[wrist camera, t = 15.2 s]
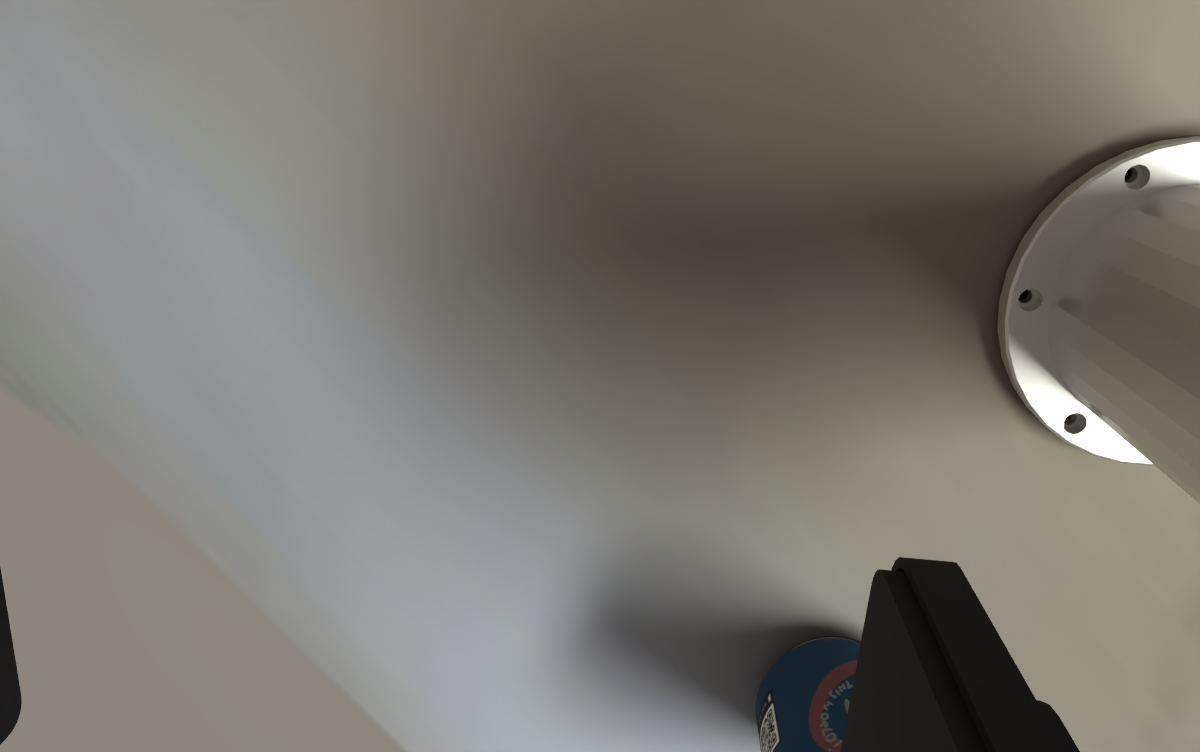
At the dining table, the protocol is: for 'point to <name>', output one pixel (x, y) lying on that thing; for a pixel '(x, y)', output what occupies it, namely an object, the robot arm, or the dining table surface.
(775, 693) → the soda can
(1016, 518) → the dining table surface
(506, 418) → the dining table surface
